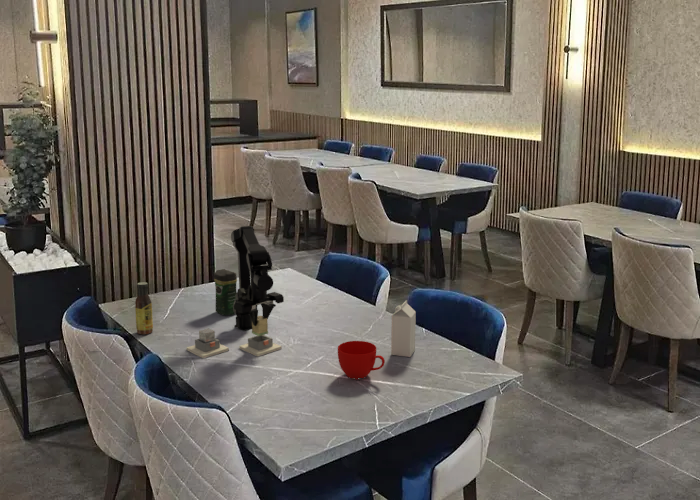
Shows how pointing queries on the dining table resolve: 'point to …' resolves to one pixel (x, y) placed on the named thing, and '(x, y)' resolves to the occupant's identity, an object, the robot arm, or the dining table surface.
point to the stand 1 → (207, 348)
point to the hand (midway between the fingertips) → (259, 324)
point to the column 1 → (207, 335)
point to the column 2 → (260, 326)
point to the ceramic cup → (358, 358)
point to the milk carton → (403, 331)
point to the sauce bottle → (143, 310)
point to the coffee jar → (225, 291)
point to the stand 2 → (260, 345)
